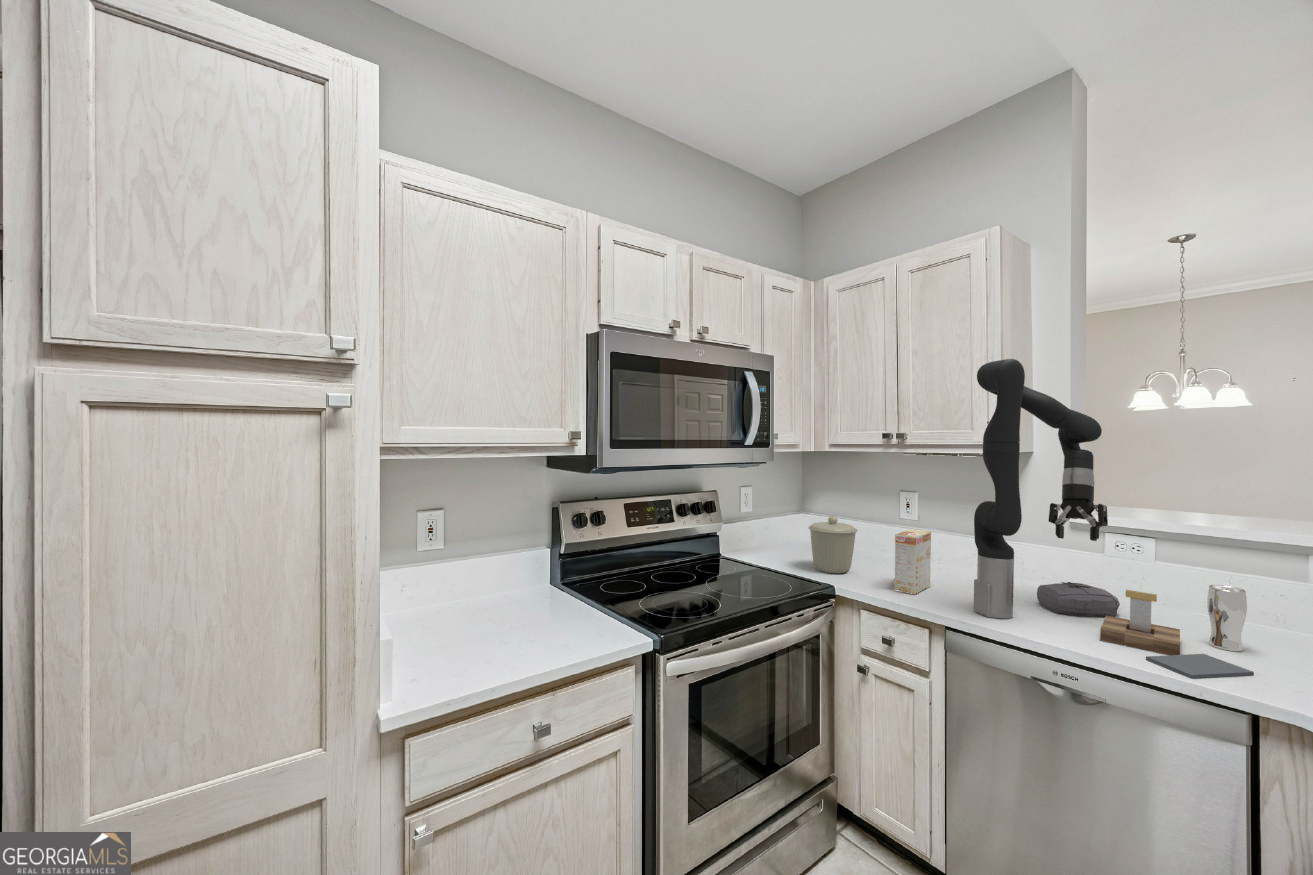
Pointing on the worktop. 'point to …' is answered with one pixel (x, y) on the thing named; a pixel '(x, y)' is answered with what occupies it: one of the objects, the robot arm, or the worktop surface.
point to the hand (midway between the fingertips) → (1076, 539)
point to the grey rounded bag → (1077, 599)
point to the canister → (832, 545)
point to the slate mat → (1199, 666)
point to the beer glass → (1226, 616)
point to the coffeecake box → (912, 560)
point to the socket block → (1141, 636)
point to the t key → (1140, 610)
